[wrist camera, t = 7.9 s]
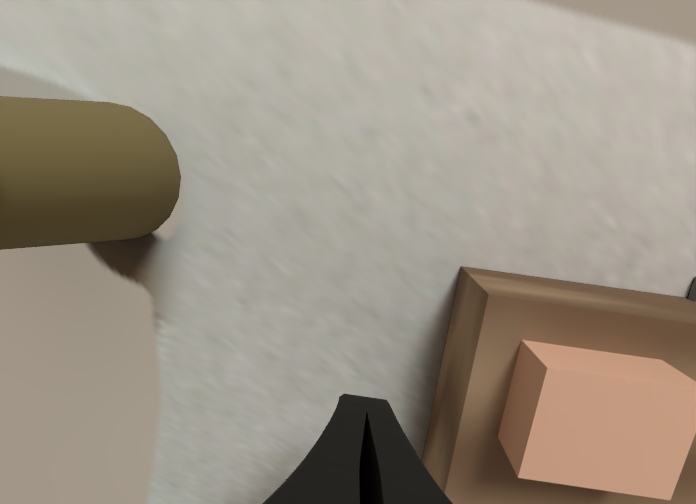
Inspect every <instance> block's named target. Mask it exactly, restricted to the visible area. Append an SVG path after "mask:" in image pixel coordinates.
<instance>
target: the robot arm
mask: <svg viewBox="0 0 696 504" xmlns="http://www.w3.org/2000/svg"><path fill="white" fill-rule="evenodd" d="M263 504H453V503H452V502H451V501H450V500H449V498H448V497H447V496H446V495H445V494H444V492H443V491H442V490H441V488H440V487H439V486H438V484H437V483H436V482H435V480H434V479H433V477H432V476H431V475H430V473H429V472H428V470H427V469H426V467H425V466H424V464H423V463H422V461H421V460H420V458H419V457H418V455H417V454H416V452H415V450H414V449H413V447H412V445H411V444H410V442H409V440H408V439H407V437H406V435H405V433H404V432H403V430H402V428H401V426H400V424H399V422H398V421H397V419H396V417H395V415H394V413H393V411H392V408H391V406H390V404H389V403H388V401H387V400H384V399H377V398H370V397H363V396H356V395H349V394H343V395H342V396H340V397H339V402H338V405H337V407H336V410H335V412H334V414H333V416H332V418H331V420H330V421H329V423H328V425H327V426H326V428H325V430H324V431H323V433H322V435H321V436H320V438H319V439H318V441H317V442H316V444H315V445H314V446H313V448H312V449H311V450H310V452H309V453H308V455H307V456H306V457H305V459H304V460H303V461H302V462H301V464H300V465H299V466H298V467H297V468H296V470H295V471H294V472H293V473H292V474H291V475H290V476H289V478H288V479H287V480H286V481H285V482H284V483H283V484H282V485H281V486H280V487H279V488H278V489H277V490H276V491H275V492H274V493H273V494H272V495H271V496H270V497H269V498H268V499H267V500H266V501H265V502H264V503H263Z"/></svg>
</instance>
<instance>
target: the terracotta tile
mask: <svg viewBox="0 0 696 504" xmlns="http://www.w3.org/2000/svg"><path fill="white" fill-rule="evenodd" d="M695 433H696V381H694V380H692V379H691V378H689V377H688V376H686V375H685V374H683V373H682V372H680V371H678V370H677V369H675V368H674V367H672V366H671V365H669V364H668V363H666V362H664V361H663V360H659V359H652V358H645V357H638V356H631V355H624V354H617V353H610V352H603V351H596V350H589V349H582V348H575V347H568V346H561V345H554V344H547V343H540V342H533V341H526V340H521V344H520V348H519V353H518V357H517V361H516V365H515V369H514V373H513V377H512V381H511V385H510V389H509V393H508V397H507V401H506V405H505V409H504V413H503V417H502V421H501V425H500V429H499V433H498V438H499V440H500V442H501V444H502V446H503V448H504V450H505V453H506V455H507V457H508V459H509V461H510V463H511V465H512V467H513V469H514V471H515V473H516V475H517V477H518V478H523V479H530V480H536V481H543V482H550V483H557V484H563V485H570V486H577V487H584V488H590V489H597V490H604V491H610V492H617V493H624V494H631V495H637V496H644V497H651V498H658V499H664V500H671V498H672V495H673V492H674V489H675V487H676V484H677V481H678V479H679V476H680V473H681V471H682V468H683V465H684V463H685V460H686V457H687V455H688V452H689V449H690V447H691V444H692V441H693V439H694V436H695Z"/></svg>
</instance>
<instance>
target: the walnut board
mask: <svg viewBox="0 0 696 504" xmlns="http://www.w3.org/2000/svg"><path fill="white" fill-rule="evenodd" d="M521 340H526V341H533V342H540V343H547V344H554V345H561V346H568V347H575V348H582V349H589V350H596V351H603V352H610V353H617V354H624V355H631V356H638V357H645V358H652V359H659V360H663V361H664V362H666V363H668V364H669V365H671V366H672V367H674V368H675V369H677V370H678V371H680V372H682V373H683V374H685V375H686V376H688V377H689V378H691V379H692V380H694V381H696V302H693V301H691V300H688V299H686V298H683V297H676V296H669V295H662V294H655V293H648V292H641V291H633V290H626V289H619V288H612V287H605V286H598V285H590V284H583V283H576V282H569V281H562V280H555V279H548V278H540V277H533V276H526V275H519V274H512V273H505V272H498V271H490V270H483V269H476V268H469V267H462V266H461V269H460V274H459V279H458V284H457V289H456V294H455V299H454V304H453V309H452V314H451V319H450V324H449V328H448V333H447V338H446V343H445V348H444V353H443V358H442V363H441V368H440V373H439V378H438V383H437V388H436V393H435V398H434V402H433V407H432V412H431V417H430V422H429V427H428V432H427V437H426V442H425V447H424V452H423V457H422V463H423V464H424V466H425V467H426V469H427V470H428V472H429V473H430V475H431V476H432V477H433V479H434V480H435V482H436V483H437V484H438V486H439V487H440V488H441V490H442V491H443V492H444V494H445V495H446V496H447V497H448V498H449V500H450V501H451V502H452V503H453V504H696V433H695V436H694V439H693V441H692V444H691V447H690V449H689V452H688V455H687V457H686V460H685V463H684V465H683V468H682V471H681V473H680V476H679V479H678V481H677V484H676V487H675V489H674V492H673V495H672V498H671V500H664V499H658V498H651V497H644V496H637V495H631V494H624V493H617V492H610V491H604V490H597V489H590V488H584V487H577V486H570V485H563V484H557V483H550V482H543V481H536V480H530V479H523V478H518V477H517V475H516V473H515V471H514V469H513V467H512V465H511V463H510V461H509V459H508V457H507V455H506V453H505V450H504V448H503V446H502V444H501V442H500V440H499V438H498V433H499V429H500V425H501V421H502V417H503V413H504V409H505V405H506V401H507V397H508V393H509V389H510V385H511V381H512V377H513V373H514V369H515V365H516V361H517V357H518V353H519V348H520V344H521Z"/></svg>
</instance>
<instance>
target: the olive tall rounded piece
mask: <svg viewBox="0 0 696 504" xmlns="http://www.w3.org/2000/svg"><path fill="white" fill-rule="evenodd" d="M180 179H181V176H180V170H179V165H178V160H177V155H176V153H175V151H174V149H173V148H172V146H171V144H170V142H169V140H168V138H167V136H166V134H165V133H164V132H163V131H162V130H161V129H160V128H159V127H158V126H157V125H156V124H155V123H154V122H153V121H152V120H151V119H150V118H149V117H147V116H145V115H144V114H142V113H140V112H138V111H137V110H135V109H133V108H131V107H128V106H124V105H119V104H114V103H109V102H93V101H75V100H57V99H39V98H20V97H3V96H0V250H1V249H13V248H26V247H38V246H51V245H63V244H76V243H89V242H101V241H114V240H125V239H134V238H140V237H142V236H144V235H147V234H149V233H151V232H153V231H155V230H157V229H158V228H159V227H160V225H162V224H163V223H164V222H165V221H166V220H167V219H168V218H169V217H170V215H171V213H172V211H173V209H174V206H175V204H176V202H177V200H178V198H179V188H180Z"/></svg>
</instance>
